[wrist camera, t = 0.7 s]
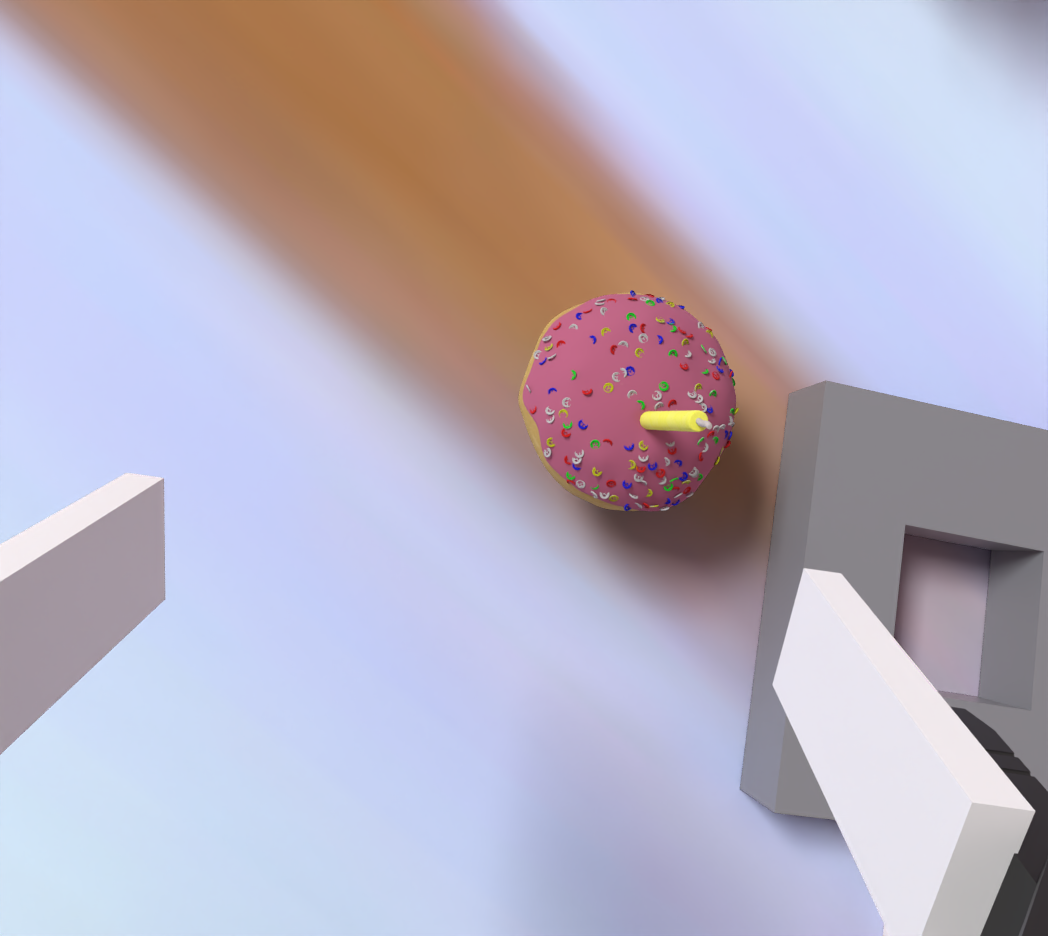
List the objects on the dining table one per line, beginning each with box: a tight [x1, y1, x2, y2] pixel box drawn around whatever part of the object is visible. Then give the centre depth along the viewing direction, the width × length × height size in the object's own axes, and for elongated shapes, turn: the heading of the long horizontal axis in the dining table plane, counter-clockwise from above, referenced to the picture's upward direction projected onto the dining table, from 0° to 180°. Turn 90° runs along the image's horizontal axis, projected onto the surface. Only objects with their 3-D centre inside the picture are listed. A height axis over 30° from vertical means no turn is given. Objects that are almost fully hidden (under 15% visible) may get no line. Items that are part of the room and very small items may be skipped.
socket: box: [740, 381, 1048, 820], centre depth 35 cm, size 18×16×3 cm
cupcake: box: [518, 290, 739, 511], centre depth 28 cm, size 9×8×12 cm
